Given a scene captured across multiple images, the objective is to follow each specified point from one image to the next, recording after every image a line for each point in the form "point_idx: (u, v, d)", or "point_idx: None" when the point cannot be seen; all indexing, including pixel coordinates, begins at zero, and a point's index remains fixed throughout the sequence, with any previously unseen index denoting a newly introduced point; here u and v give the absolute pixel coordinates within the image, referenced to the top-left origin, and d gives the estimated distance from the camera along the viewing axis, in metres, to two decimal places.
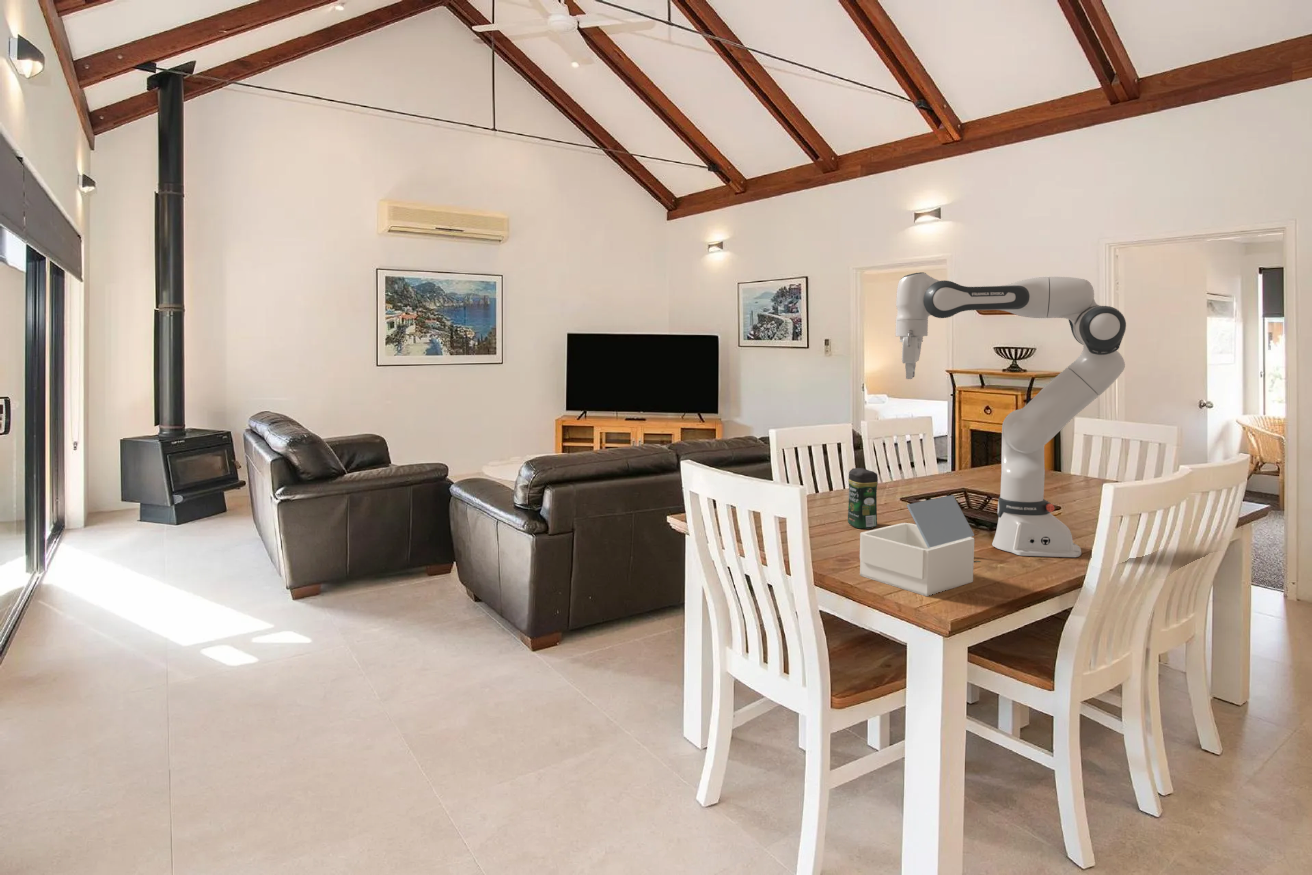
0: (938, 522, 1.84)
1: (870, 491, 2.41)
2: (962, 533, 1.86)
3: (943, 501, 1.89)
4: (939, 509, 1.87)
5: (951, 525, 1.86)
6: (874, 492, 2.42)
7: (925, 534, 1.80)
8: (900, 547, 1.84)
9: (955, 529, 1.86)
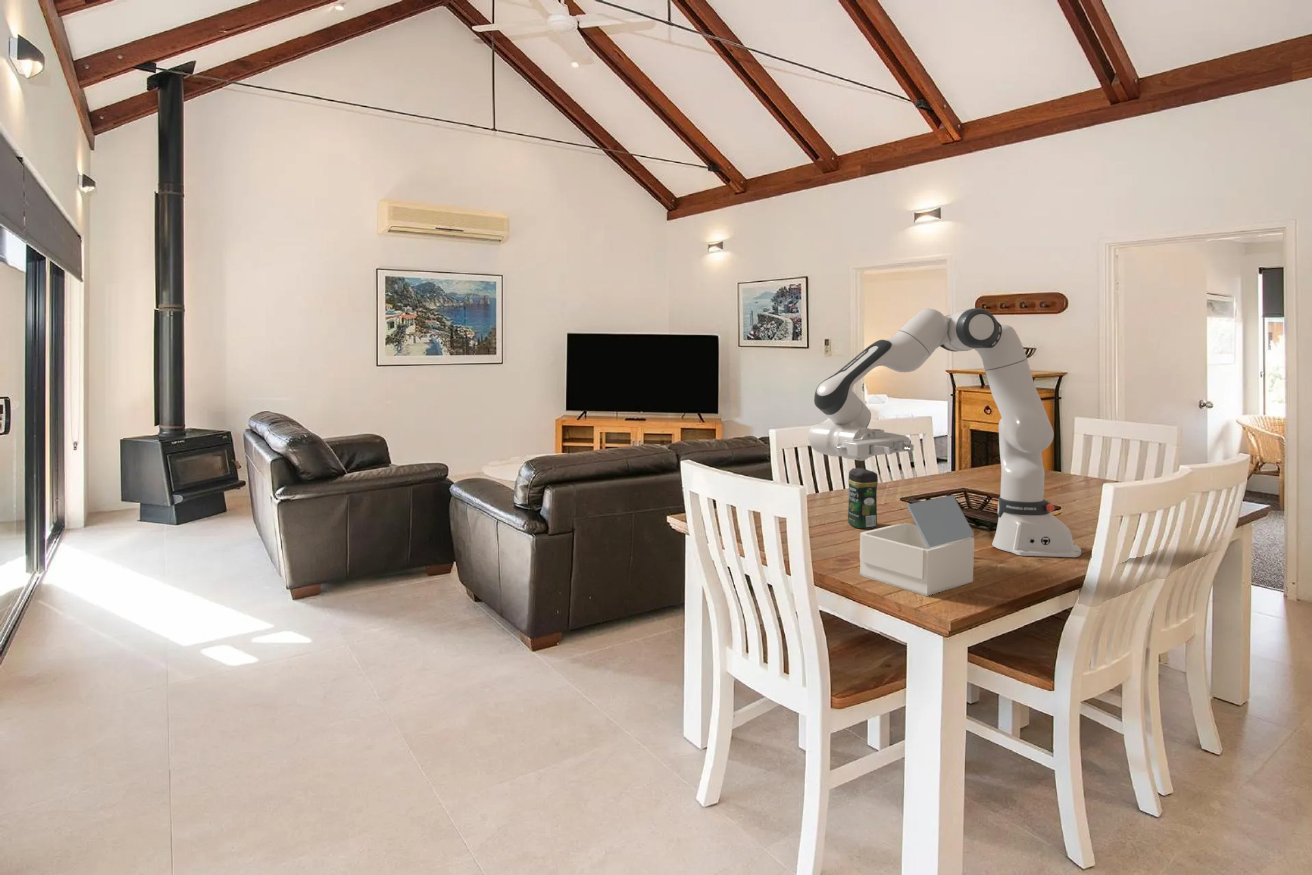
0: (938, 522, 1.84)
1: (870, 491, 2.41)
2: (962, 533, 1.86)
3: (943, 501, 1.89)
4: (939, 509, 1.87)
5: (951, 525, 1.86)
6: (874, 492, 2.42)
7: (925, 534, 1.80)
8: (900, 547, 1.84)
9: (955, 529, 1.86)
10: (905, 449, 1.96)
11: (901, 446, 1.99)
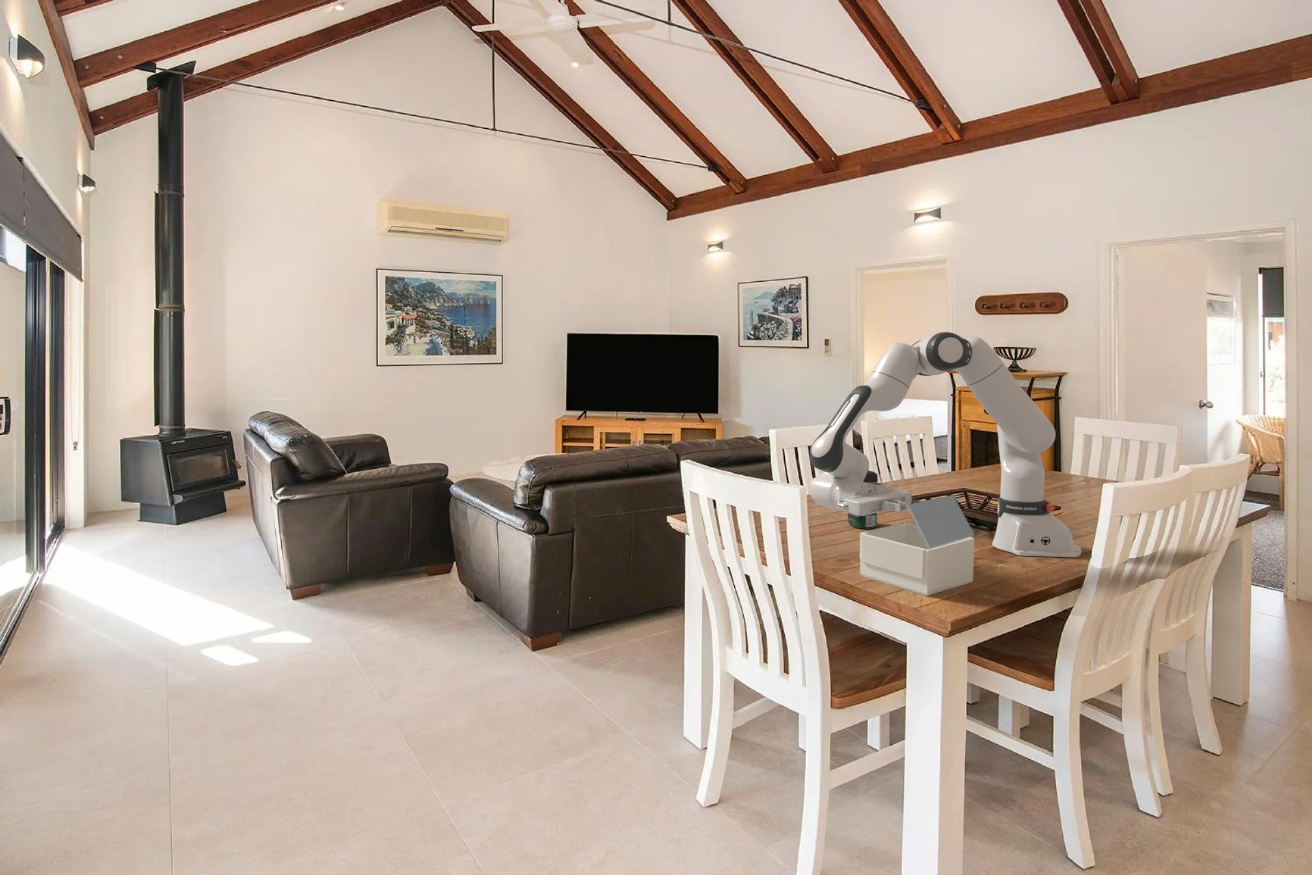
0: (938, 522, 1.84)
1: None
2: (962, 533, 1.86)
3: (943, 501, 1.89)
4: (939, 509, 1.87)
5: (951, 525, 1.86)
6: None
7: (925, 534, 1.80)
8: (900, 547, 1.84)
9: (955, 529, 1.86)
10: None
11: None
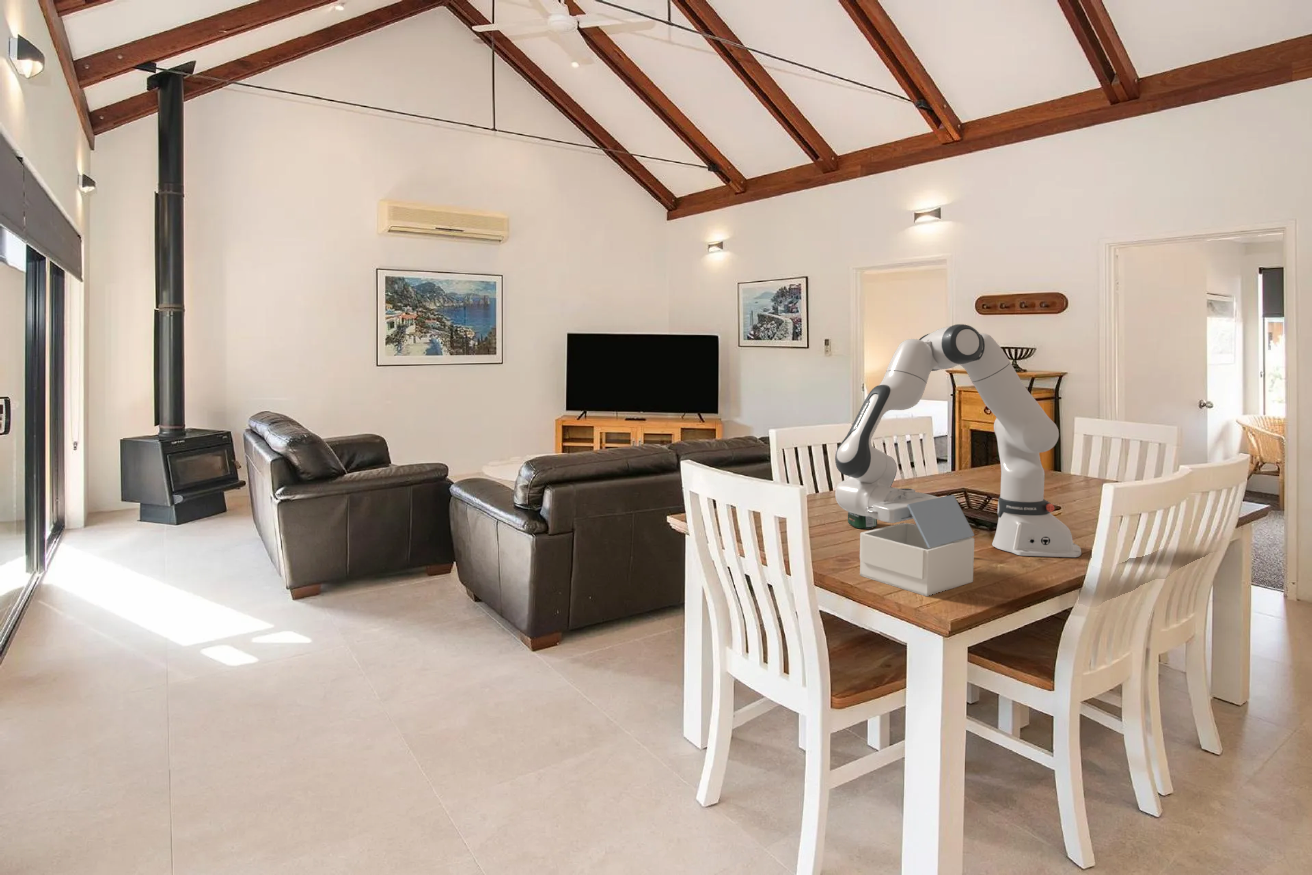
0: (938, 522, 1.84)
1: None
2: (962, 533, 1.86)
3: (943, 501, 1.89)
4: (939, 509, 1.87)
5: (951, 525, 1.86)
6: None
7: (925, 534, 1.80)
8: (900, 547, 1.84)
9: (955, 529, 1.86)
10: None
11: None
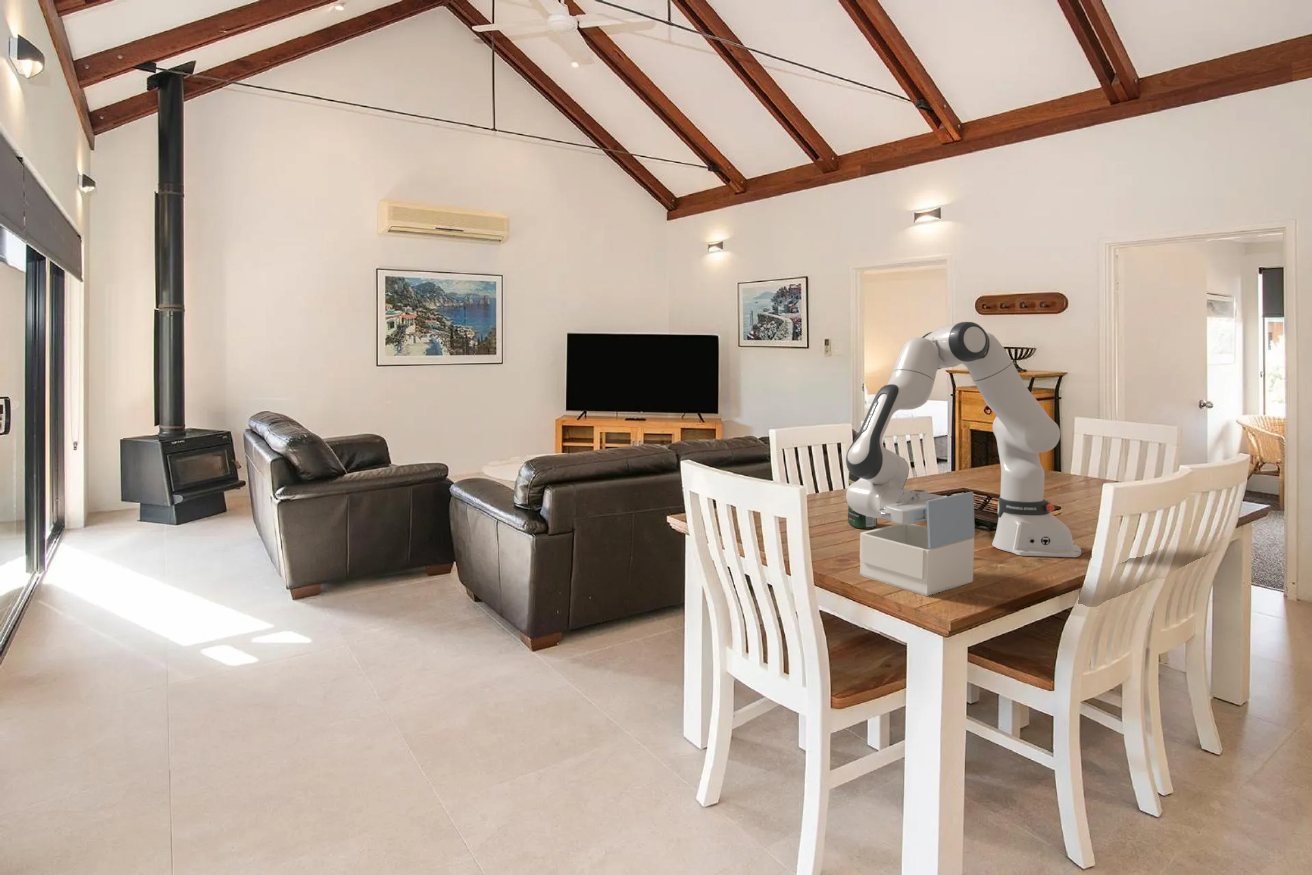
0: (948, 521, 1.82)
1: None
2: (964, 534, 1.86)
3: (961, 498, 1.85)
4: (954, 507, 1.83)
5: (958, 525, 1.84)
6: None
7: (931, 534, 1.78)
8: (900, 547, 1.84)
9: (960, 529, 1.85)
10: None
11: None
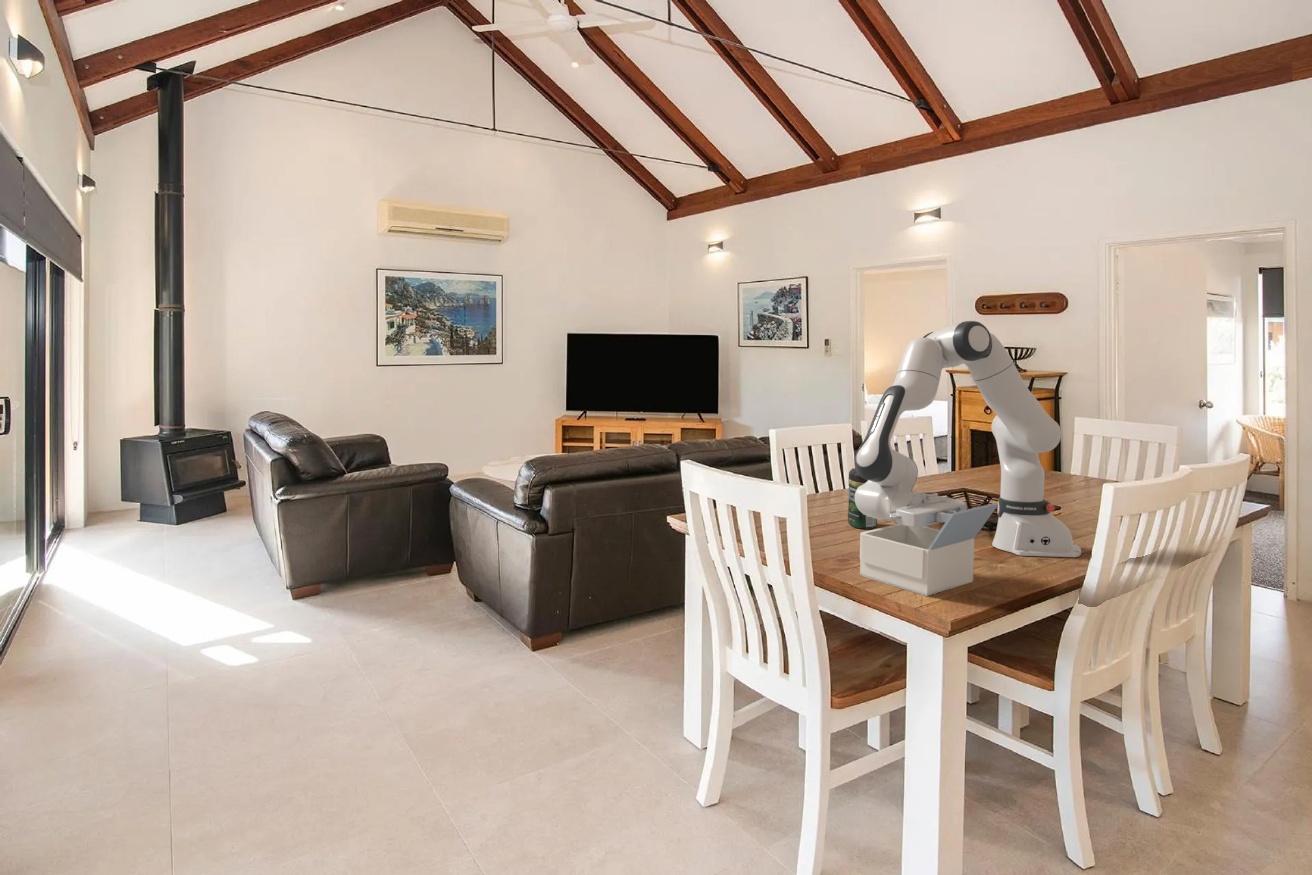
0: (959, 529, 1.79)
1: None
2: (967, 537, 1.85)
3: (984, 510, 1.80)
4: (972, 517, 1.79)
5: (966, 531, 1.82)
6: None
7: (938, 539, 1.77)
8: (900, 547, 1.84)
9: (965, 534, 1.83)
10: None
11: None
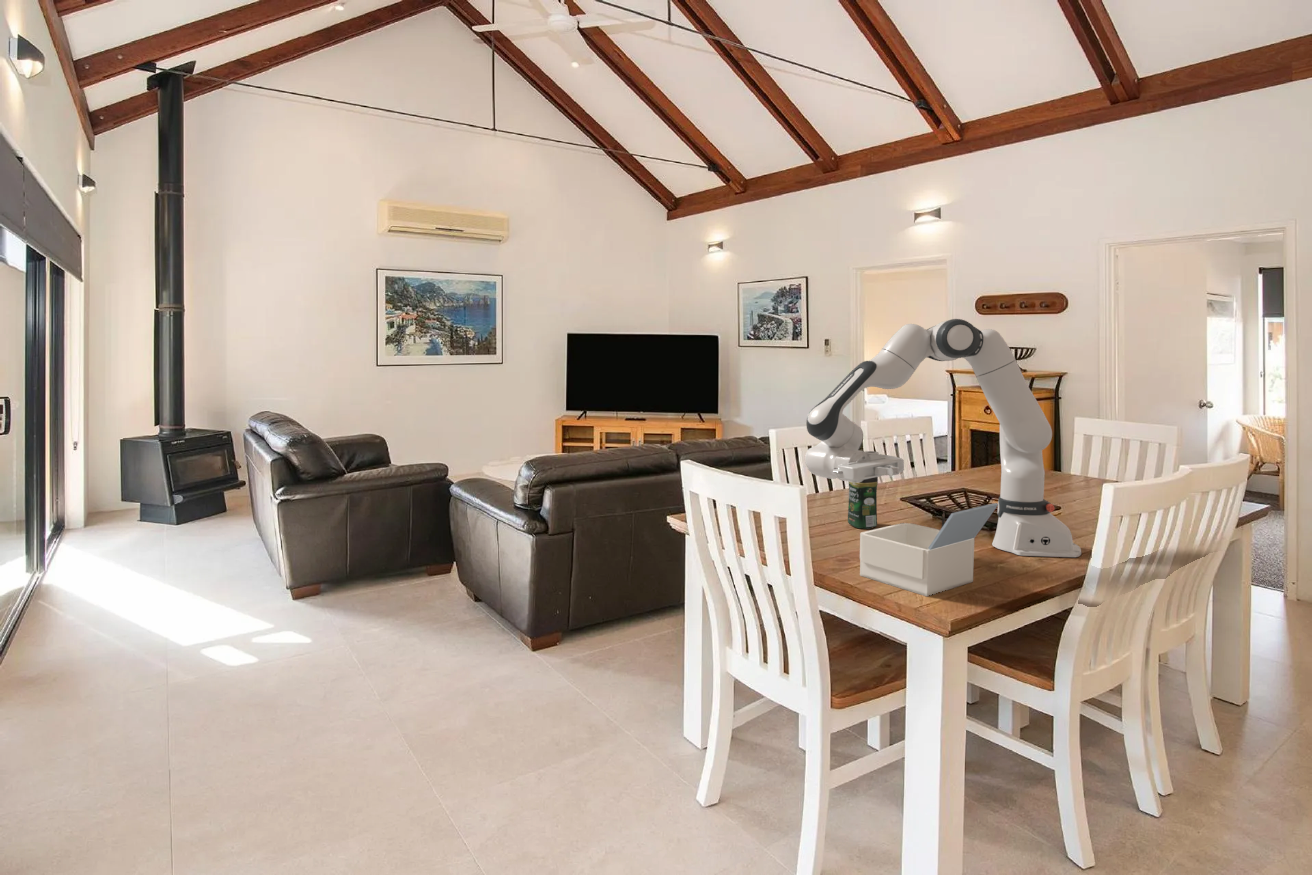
0: (959, 529, 1.79)
1: (870, 491, 2.41)
2: (967, 537, 1.85)
3: (984, 510, 1.80)
4: (972, 517, 1.79)
5: (966, 531, 1.82)
6: (874, 492, 2.42)
7: (938, 539, 1.77)
8: (900, 547, 1.84)
9: (965, 534, 1.83)
10: None
11: None
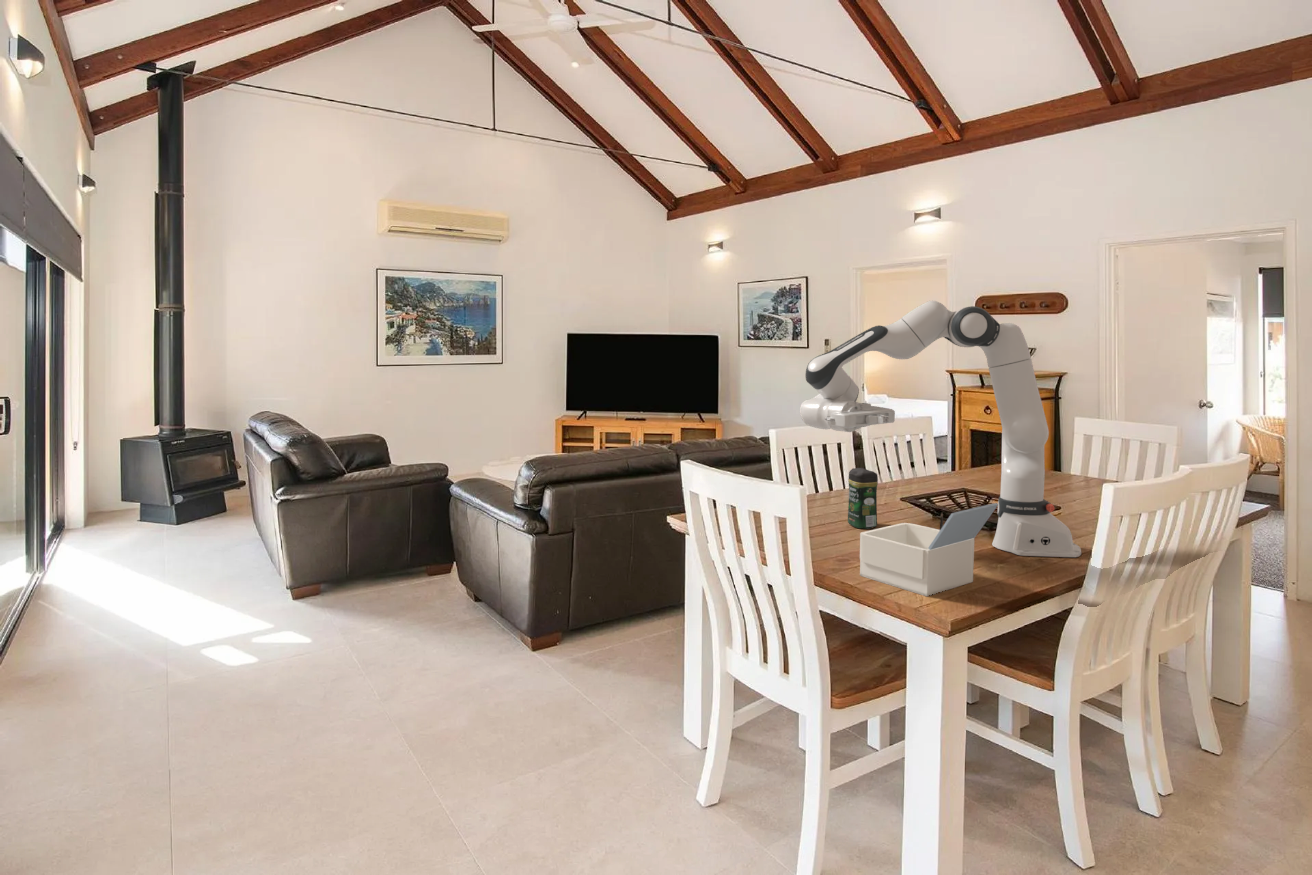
0: (959, 529, 1.79)
1: (870, 491, 2.41)
2: (967, 537, 1.85)
3: (984, 510, 1.80)
4: (972, 517, 1.79)
5: (966, 531, 1.82)
6: (874, 492, 2.42)
7: (938, 539, 1.77)
8: (900, 547, 1.84)
9: (965, 534, 1.83)
10: None
11: None
